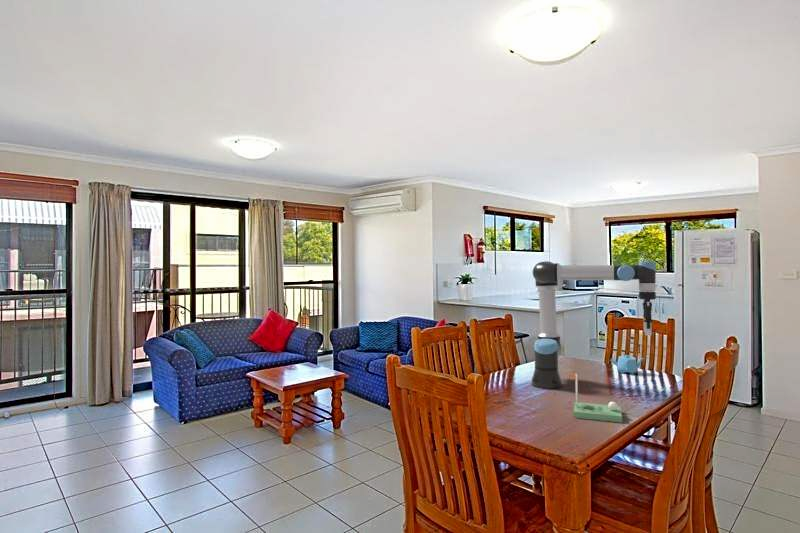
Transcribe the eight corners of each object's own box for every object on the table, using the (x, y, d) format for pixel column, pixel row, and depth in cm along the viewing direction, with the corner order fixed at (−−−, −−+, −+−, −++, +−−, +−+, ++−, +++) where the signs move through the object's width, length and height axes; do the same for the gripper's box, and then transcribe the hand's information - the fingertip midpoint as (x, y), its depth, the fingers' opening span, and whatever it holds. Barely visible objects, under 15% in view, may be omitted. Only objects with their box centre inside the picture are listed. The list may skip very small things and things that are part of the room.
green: (567, 416, 192) (566, 377, 192) (568, 407, 205) (568, 369, 205) (622, 422, 185) (621, 381, 185) (620, 412, 198) (619, 373, 197)
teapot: (610, 373, 265) (609, 356, 265) (610, 368, 278) (610, 351, 278) (645, 376, 257) (645, 358, 257) (644, 371, 270) (644, 354, 270)
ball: (608, 411, 191) (608, 402, 191) (608, 408, 195) (607, 400, 195) (617, 412, 190) (617, 403, 190) (617, 409, 193) (617, 400, 193)
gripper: (657, 293, 221) (657, 337, 222) (653, 290, 244) (654, 330, 244) (640, 292, 225) (640, 336, 225) (637, 289, 247) (638, 329, 247)
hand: (647, 333), depth 234 cm, fingers open, 13 cm apart
